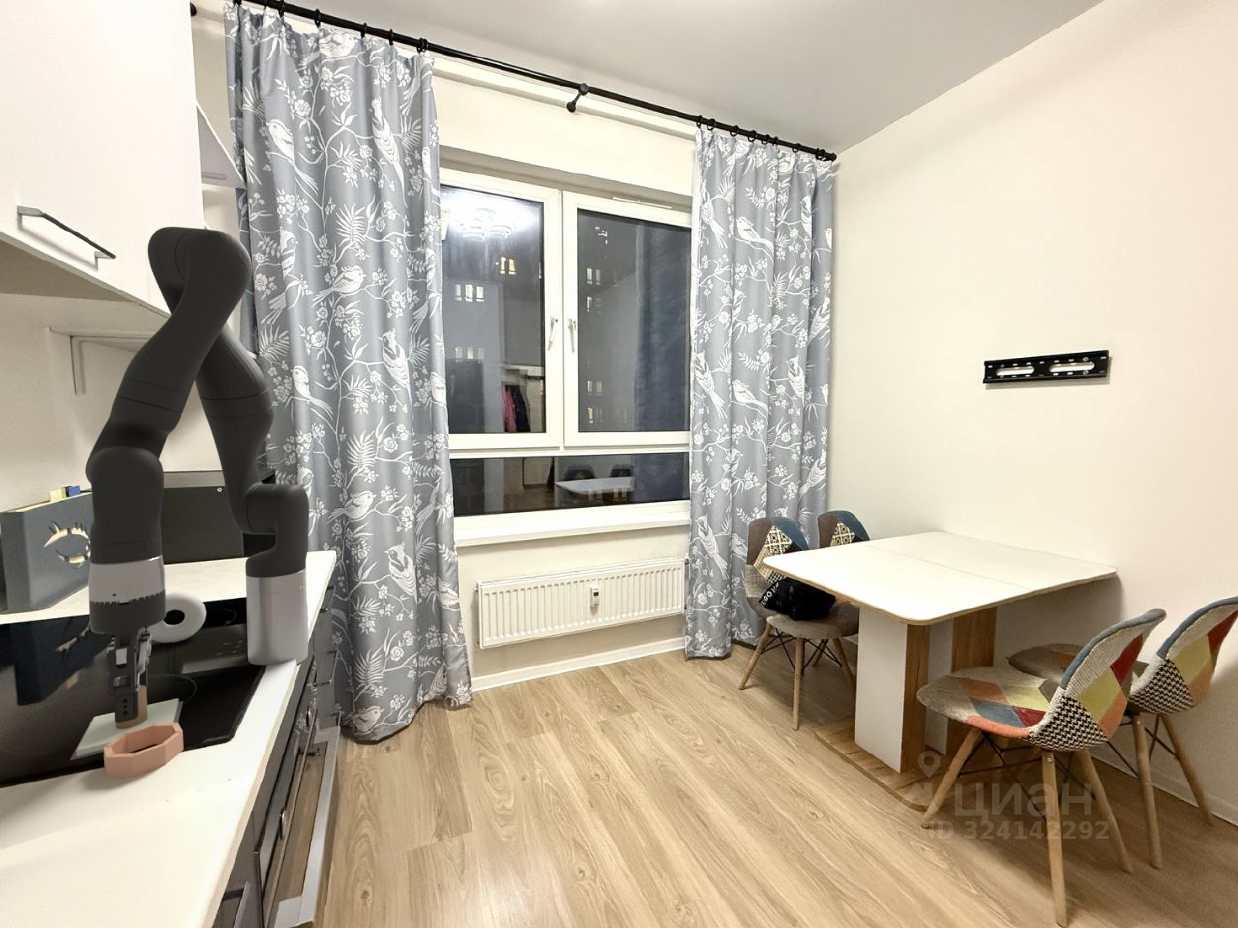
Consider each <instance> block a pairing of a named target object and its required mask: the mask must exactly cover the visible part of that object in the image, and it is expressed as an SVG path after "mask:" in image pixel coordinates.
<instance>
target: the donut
mask: <svg viewBox="0 0 1238 928" xmlns="http://www.w3.org/2000/svg"><path fill="white" fill-rule="evenodd" d="M173 610H178V611H181V612H182V613H184V619H183V620H182V622H180V623H178V624H167V623H166V622H165V621H164V619H163V620H162V621H161V622H159V623H157V624H155V625H152V626H149V632H151V635H152V637H151V641H154V642H159V643H163V644H166V643H167V644H168V643H169V644H170V642H171V643H177V642H180V641H184V640H186V639H188V638H190V637H192V636H193V635H194V634H196V633H197V632H198V631H199V630H200V629H201V628H202V626H203V624H204V622H205V621H206V616H207V610H206V606H205V604H204V603H203V602H202V600H201V599H200V598H199V597H197V596H195V595H194V594H191V593H187V592H171V593H166V614H167V613H168V612H170V611H173Z"/></svg>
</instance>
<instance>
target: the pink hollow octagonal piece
mask: <svg viewBox="0 0 1238 928" xmlns="http://www.w3.org/2000/svg"><path fill="white" fill-rule="evenodd" d="M183 733H184V732H183V729H182V728H181V726H180V724H179V722H178V723H154V724H151V725H148V726H145V727H142V728H139V729H136V730H132V731H129V732H126V733H124V734H122V735H121V736H119V737H118V738H116V739H115V740H114V741H112V742H111V743H109V744H108V745H106V746H105V747H104V752H103V760H104V761H103V762H104V763H103V764H104V769H105V772H106V777H107V778H108V779H109V778H124V777H125V778H127V777H128V778H129V777H136V776H139V775H141V774H144V773H148V772H150V771H152V770H154V769H157V768H160V767H163V766H166V765H167V764H168V763H169V762H171V760H173V759H174V758H175V757H177V756H178V755H179V754H180V753H181V752H182V751H184V734H183ZM153 745H155V746H153ZM150 746H152V747H150ZM148 747H149V748H148ZM145 748H146V749H145ZM142 749H143V750H142ZM139 750H141V751H139ZM136 751H137V752H136Z"/></svg>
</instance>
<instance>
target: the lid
mask: <svg viewBox="0 0 1238 928" xmlns="http://www.w3.org/2000/svg"><path fill="white" fill-rule="evenodd" d="M147 696H148V695H147V690H146V686H144V685H140V688H139V690H138V700H139V714H138V717H137V718H136V719H134V720H130V721H126V722H121V723H116V722H115V711H114V712H111V713H106V714H102V715H97V716H94V717H93V719H92V721H90V722H91V724H90V723H89V724H90V726H89V725H88V726H89V728H88V727H87V728H88V730H87V732H86V733H85V732H84V733H85V735H84V734H83V735H84V737H83V736H82V737H83V739H82V738H81V739H82V741H81V743H80V745H79V746H78V745H77V746H78V748H77V747H76V748H77V750H76V749H75V750H76V754H77V756H81V755H85V754H89V753H93V752H97V751H100V750H104V747H105V746H106V745H108V744H109V743H111V742H112V741H114V740H115V739H116V738H118V737H119V736H121V735H122V734H124V733H126V732H129V731H132V730H136V729H139V728H142V727H145V726H148V725H151V724H154V723H173V722H174V718H175V715H176V711H177V707H178V702H179V698H173V699H169V700H164V701H160V702H156V703H152V704H148V699H147Z"/></svg>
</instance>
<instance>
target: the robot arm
mask: <svg viewBox="0 0 1238 928" xmlns="http://www.w3.org/2000/svg"><path fill="white" fill-rule="evenodd" d="M147 258H148V264H149V268H150V270H151V273H152V274H153V276H154V279H155V282H156V284H157V286H158V288H159V291H160V293H161V295H162V298H163V299H164V302H165V304H166V307H167V308H168V311H169V312H170V316H169V318H168V319H167V320H166V321H165V322H164V324H162V326H161V327H160V328H159V329H158V330H157V332H155V333H153V335H152V336H151V337H149V339H148V340H147V341H146V342H145V343H144V344H143V346H141V348H140V349H139V350H138V351H137V352H136V353H135V355H134V356H133V358H131V361H130V362H129V363H128V366H127V367H126V369H125V371H124V374H123V376H122V379H121V381H120V384H119V387H118V390H117V392H116V394H115V397H114V400H113V403H112V407H111V410H110V414H109V416H108V419H107V421H106V422H105V425H104V426H103V427H102V430H101V431H100V434H98V437H97V440H96V441H95V443H94V444H93V447H92V449H91V451H90V454H89V456H88V459H87V461H86V464H85V468H84V469H85V471H84V473H85V477H86V479H87V481H88V482H89V483H90V486H91V497H92V498H91V500H92V513H93V521H92V524H91V526H90V529H89V554H90V555H89V556H90V557H89V559H90V562H89V563H90V566H89V572H88V578H87V579H88V580H87V582H88V583H87V585H88V605H89V608H88V609H89V614H88V615H89V630H90V631H91V632H93V633H95V634H100V635H101V634H102V635H106V634H111V635H113V636H114V637H112V638H111V641H110V644H108V645H107V650H106V657H107V669H108V670H107V676H108V691H107V695H108V698H114V699H113V702H114V705H113V706H114V707H113V708H114V712H115V722H116V723H121V722H126V721H130V720H134V719H136V718H137V717H138V714H139V700H138V690H139V688H140V685H144V686H146V691H147V690H148V664H149V663H150V656H151V653H152V639H151V637H152V635H151V632H149V626H152V625H155V624H157V623H159V622H161V621H162V620H163V621H164V620H165V618H166V617H167V613H166V594H167V592H166V591H167V590H166V569H165V564H164V559H163V544H162V542H163V541H162V539H163V538H162V535H163V534H162V526H161V513H162V507H163V501H164V500H163V499H164V491H165V489H164V488H165V476H164V475H165V473H164V467H163V463H162V462H161V460H160V457H161V455H162V452H163V450H164V446H165V444H166V442H167V439H168V437H169V435H170V434H171V433H172V432H173V431H174V430H175V429H176V427H177V426H178V424H179V422H180V420H181V417H182V414H183V413H184V410H185V407H186V405H187V403H188V400H189V396H190V393H191V391H192V388H193V386H194V383H195V387H196V390H197V393H198V396H199V397H198V398H199V400H200V403H201V407H202V409H203V412H204V416H205V418H206V421H207V423H208V426H209V429H210V432H211V435H212V437H213V441H214V445H215V448H216V451H217V455H218V459H219V463H220V466H221V471H222V475H223V481H224V486H225V491H226V498H227V502H228V508H229V512H230V514H231V515H230V516H231V518H232V520H233V523H234V526H235V528H236V529H238V530H239V531H240V532H242V533H243V534H247V535H257V536H258V535H275V544H274V546H273V547H272V548H270V549H267V550H265V551H261V552H258V553H255V554H253V555H251V556H249V557H248V558H247V559H246V561H245V564H244V566H245V567H244V568H245V591H246V623H247V624H246V628H247V630H246V631H247V633H246V634H247V661H248V663H250V664H252V665H257V666H270V665H271V666H272V665H278V664H283V663H286V662H289V661H292V660H295V663H296V665H299V664H301V663H302V662H303V661H306V659H307V658H308V654H309V653H308V651H309V624H308V622H309V616H308V614H309V613H308V603H307V602H308V599H307V598H308V597H307V593H308V592H307V556H308V549H309V525H310V500H309V496H308V493H307V490H305V488H304V487H302V486H301V485H299V484H292V483H288V484H285V483H263V482H262V480H261V478H260V475H259V471H258V456H259V454H260V453H259V452H260V450H261V449H262V447H263V444H264V442H265V440H266V438H267V436H268V434H269V432H270V430H271V428H272V425H273V422H274V417H275V413H274V412H275V411H274V406H273V401H272V398H271V395H270V389H269V386H268V383H267V380H266V378H265V377H266V376H265V374H264V373H263V372H262V369H261V368H260V366H259V365H258V364H257V362H256V361H255V360H254V358H253V357H252V356H251V354H250V353H249V352H248V350H247V349H246V348H245V347H244V345H243V344H242V343H241V342H240V340H239V339H238V338H237V336H236V334H234V332H233V330H232V328H231V327H230V325H229V323H228V320H229V318H230V317H231V315H232V313H233V312H234V311H235V309H236V307H237V305H238V304H239V302H240V301H241V299H242V297H243V296H244V294H245V293H246V291H247V289H248V287H249V284H250V282H251V279H252V275H253V264H252V259H251V257H250V254H249V252H248V250H247V249H246V247H245V246H244V245H243V243H241V241H240V240H239V239H237V238H236V237H234V236H232V235H231V234H229V233H227V232H224V231H219V230H213V229H209V228H196V227H183V226H165V227H161V228H159V229H157V230H155V231H154V233H153V234H152V235H151V236H150V238H149V240H148V244H147ZM121 678H125V684H120V680H121Z"/></svg>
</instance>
